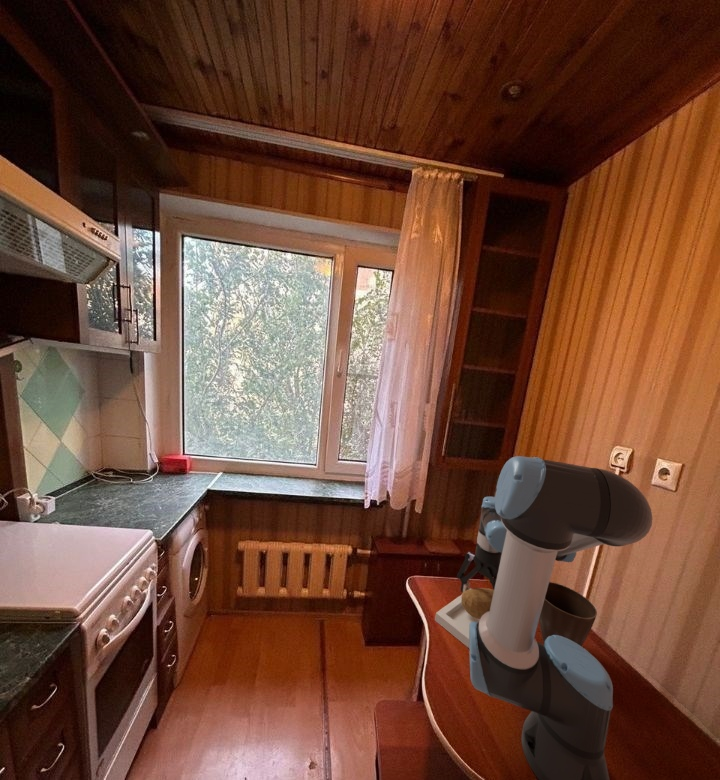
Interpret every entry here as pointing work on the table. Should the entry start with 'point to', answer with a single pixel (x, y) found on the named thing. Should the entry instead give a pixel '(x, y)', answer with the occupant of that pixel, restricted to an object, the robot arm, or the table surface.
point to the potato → (477, 601)
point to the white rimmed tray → (456, 620)
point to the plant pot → (566, 614)
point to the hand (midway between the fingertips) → (479, 613)
